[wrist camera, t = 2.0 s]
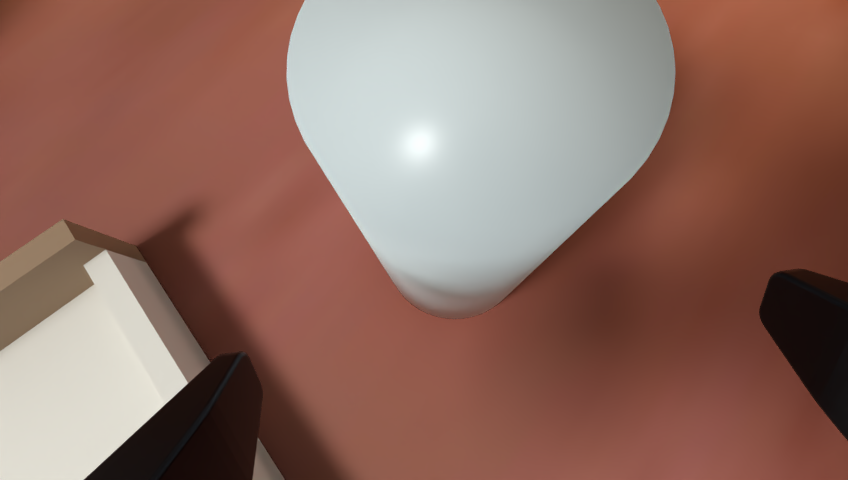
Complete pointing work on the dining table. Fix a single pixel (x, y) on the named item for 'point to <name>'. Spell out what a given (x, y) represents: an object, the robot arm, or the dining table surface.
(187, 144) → the dining table surface
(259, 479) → the drawer
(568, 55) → the white rounded wedge
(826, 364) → the robot arm
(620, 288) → the dining table surface
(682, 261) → the dining table surface
